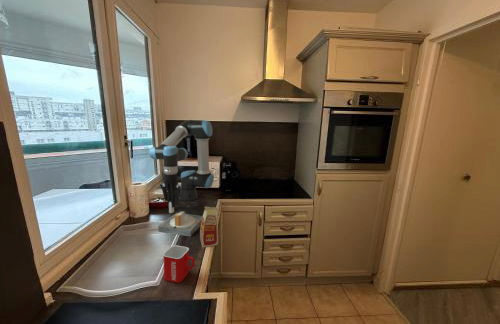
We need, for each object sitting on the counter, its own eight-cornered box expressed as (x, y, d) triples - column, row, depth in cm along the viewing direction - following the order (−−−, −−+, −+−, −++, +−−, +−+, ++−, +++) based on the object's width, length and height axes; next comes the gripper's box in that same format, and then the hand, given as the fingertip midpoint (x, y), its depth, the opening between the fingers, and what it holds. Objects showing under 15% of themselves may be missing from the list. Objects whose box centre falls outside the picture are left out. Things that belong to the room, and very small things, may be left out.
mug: (161, 280, 86) (160, 255, 84) (173, 267, 94) (173, 244, 92) (189, 286, 83) (188, 261, 82) (198, 272, 91) (198, 249, 90)
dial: (178, 216, 140) (178, 205, 139) (199, 219, 137) (199, 208, 136) (164, 226, 125) (164, 214, 124) (188, 230, 122) (188, 218, 121)
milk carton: (202, 247, 110) (202, 210, 106) (199, 238, 118) (199, 204, 115) (220, 244, 113) (220, 208, 110) (215, 236, 122) (216, 202, 118)
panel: (176, 217, 143) (176, 212, 142) (205, 221, 139) (205, 215, 139) (158, 231, 124) (158, 225, 123) (190, 236, 120) (190, 230, 119)
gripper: (156, 173, 122) (157, 213, 125) (177, 175, 119) (178, 215, 123) (164, 171, 129) (165, 208, 133) (184, 172, 126) (184, 211, 130)
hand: (171, 212), depth 128 cm, fingers closed
